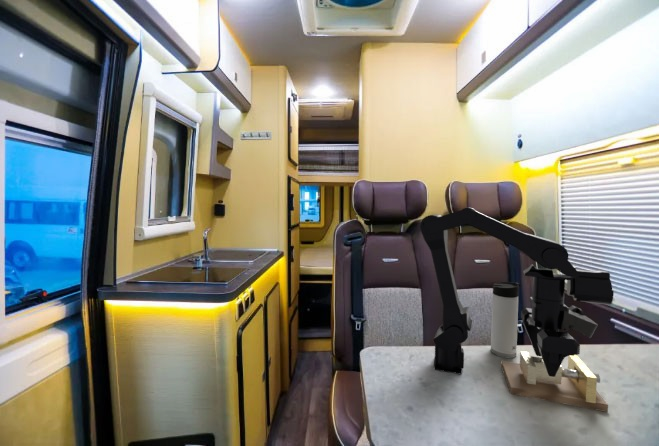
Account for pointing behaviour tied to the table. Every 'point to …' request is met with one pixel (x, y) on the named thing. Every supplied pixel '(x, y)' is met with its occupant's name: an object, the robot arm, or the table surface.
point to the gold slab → (583, 379)
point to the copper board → (548, 389)
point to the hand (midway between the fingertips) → (544, 365)
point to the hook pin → (544, 370)
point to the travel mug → (504, 319)
